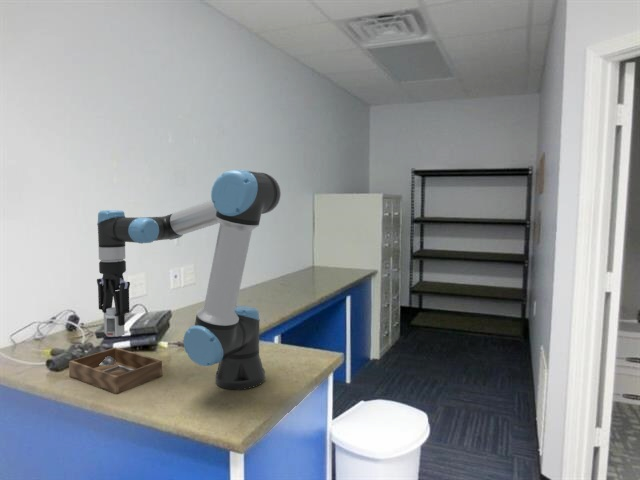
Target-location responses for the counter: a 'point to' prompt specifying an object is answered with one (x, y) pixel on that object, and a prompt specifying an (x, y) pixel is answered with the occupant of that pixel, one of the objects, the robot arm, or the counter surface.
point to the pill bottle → (110, 322)
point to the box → (115, 370)
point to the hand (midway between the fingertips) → (114, 333)
